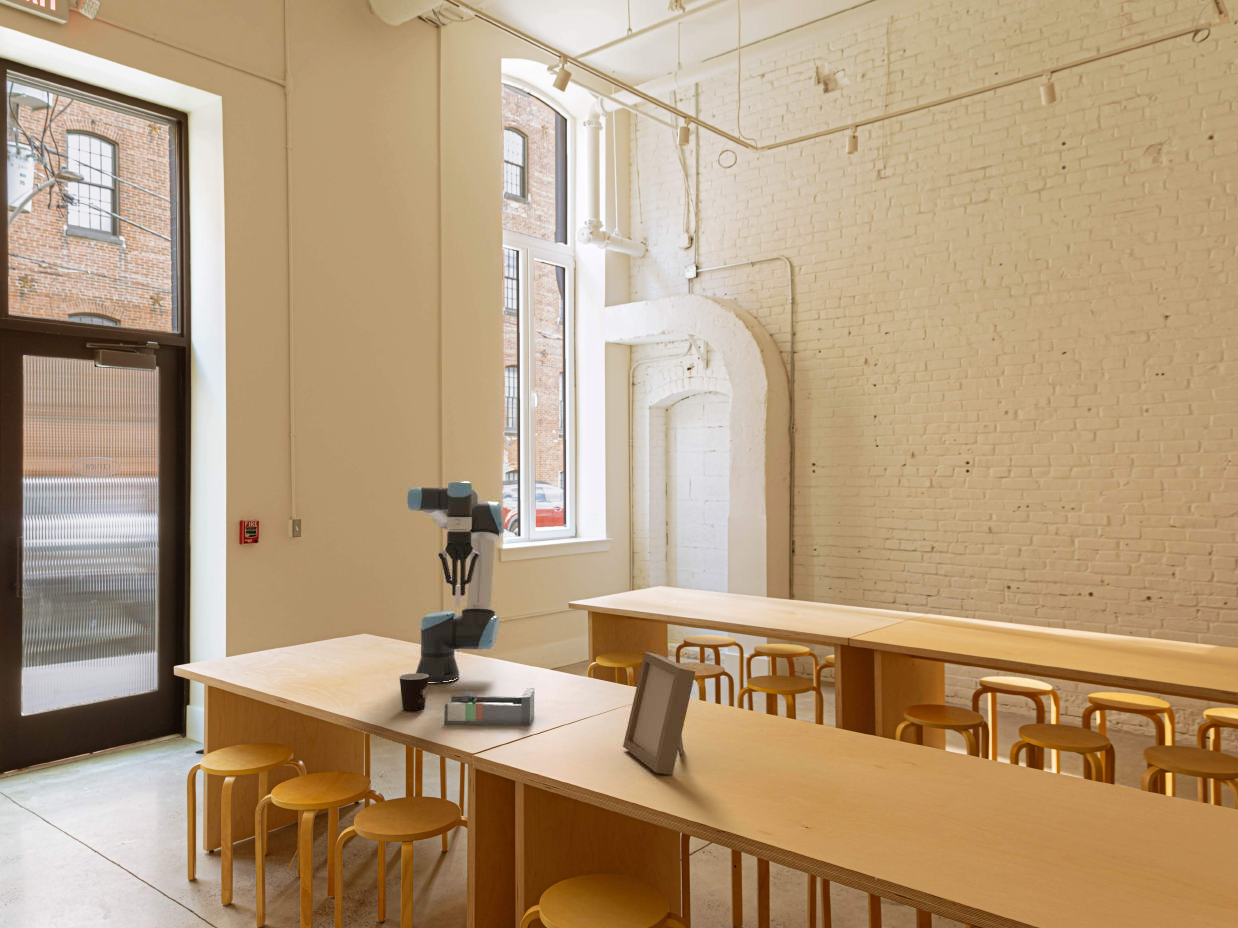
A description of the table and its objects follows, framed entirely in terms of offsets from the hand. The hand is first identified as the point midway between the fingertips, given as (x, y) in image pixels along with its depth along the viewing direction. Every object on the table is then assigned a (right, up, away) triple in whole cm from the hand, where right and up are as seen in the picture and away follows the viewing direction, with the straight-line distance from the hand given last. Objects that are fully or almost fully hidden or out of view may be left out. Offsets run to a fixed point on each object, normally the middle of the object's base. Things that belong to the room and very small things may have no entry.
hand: (458, 605), depth 269 cm
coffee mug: (-11, -30, -7) cm, 33 cm away
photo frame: (+62, -30, -55) cm, 88 cm away
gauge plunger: (+12, -28, -21) cm, 37 cm away
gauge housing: (+13, -30, -19) cm, 38 cm away
